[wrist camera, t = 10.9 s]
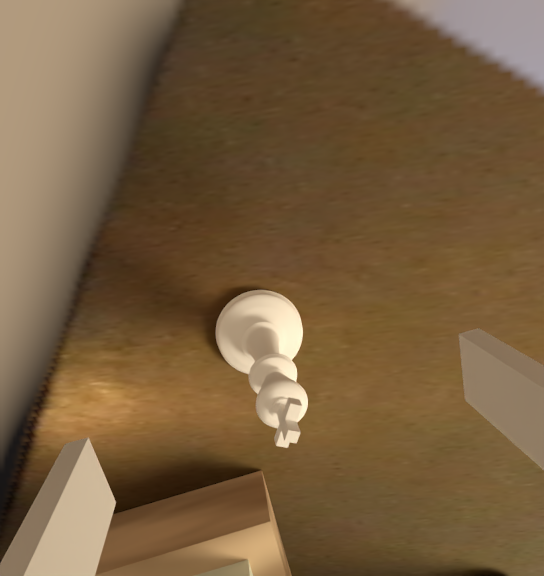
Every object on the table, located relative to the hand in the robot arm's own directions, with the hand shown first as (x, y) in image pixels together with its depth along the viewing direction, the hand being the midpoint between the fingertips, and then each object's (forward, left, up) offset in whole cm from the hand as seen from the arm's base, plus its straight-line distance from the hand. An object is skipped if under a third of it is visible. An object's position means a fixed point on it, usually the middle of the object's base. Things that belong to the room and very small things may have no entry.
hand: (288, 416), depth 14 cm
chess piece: (0, 0, -10) cm, 10 cm away
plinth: (-14, +7, -9) cm, 19 cm away
